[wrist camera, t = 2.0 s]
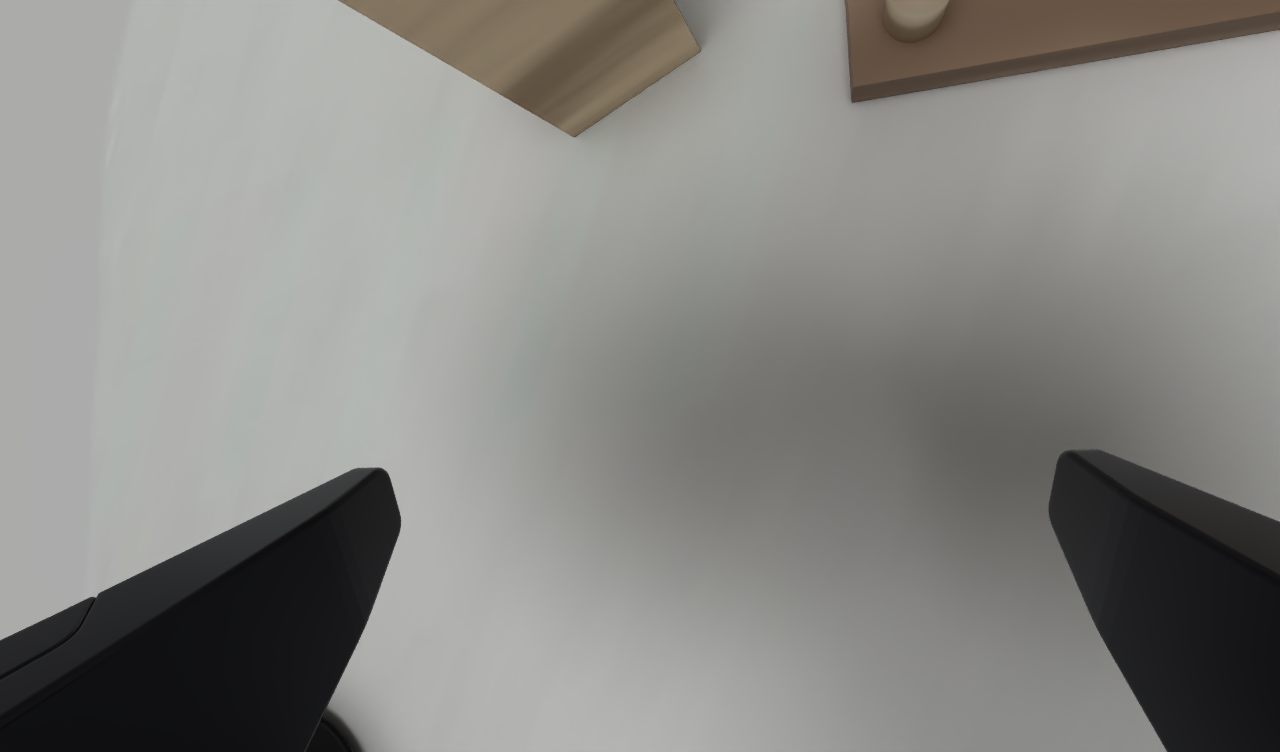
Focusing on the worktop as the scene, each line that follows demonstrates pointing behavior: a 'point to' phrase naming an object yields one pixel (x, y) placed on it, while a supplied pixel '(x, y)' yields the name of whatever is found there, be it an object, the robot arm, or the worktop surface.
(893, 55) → the peg stand
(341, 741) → the beverage can
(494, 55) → the tall wooden block
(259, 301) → the worktop surface
